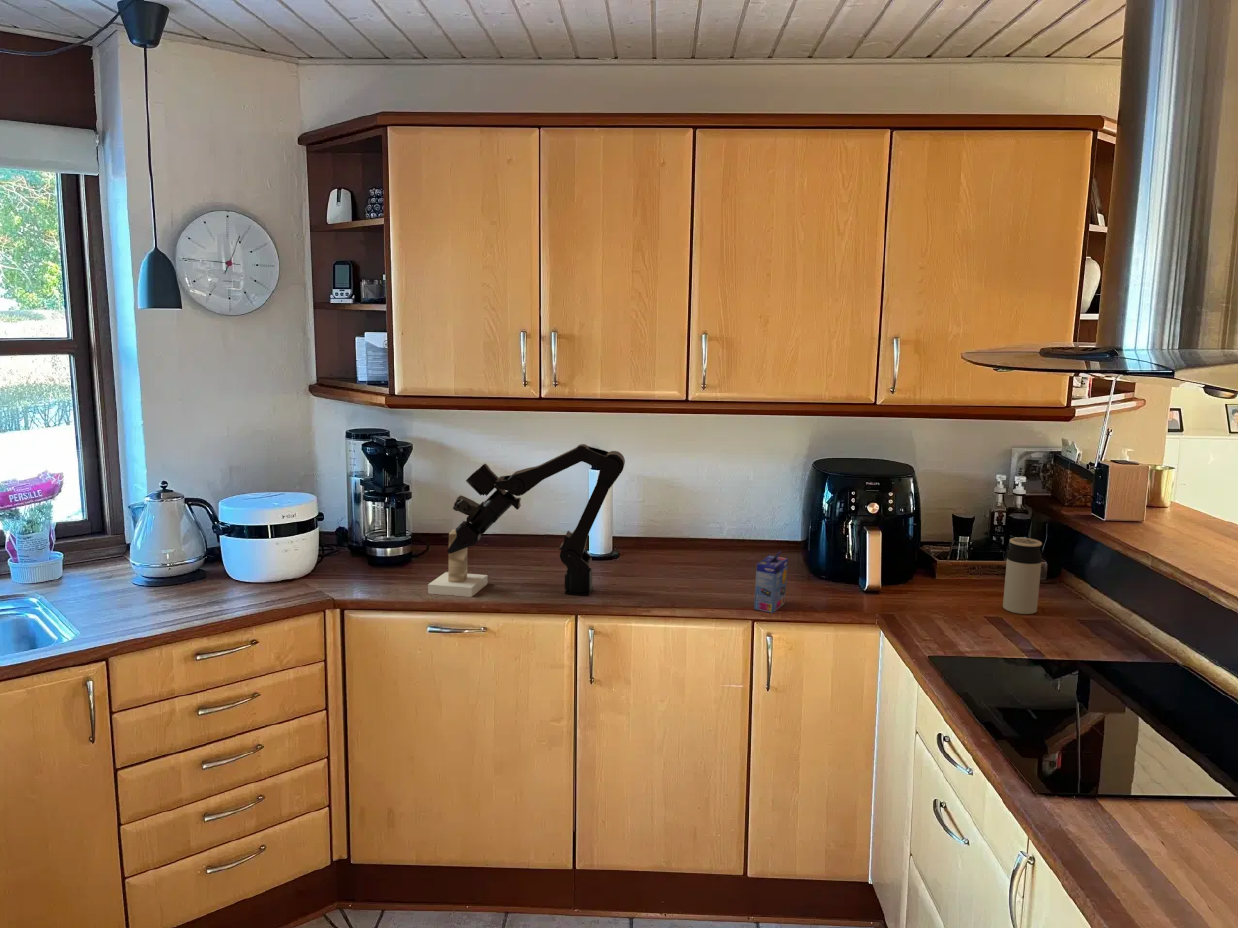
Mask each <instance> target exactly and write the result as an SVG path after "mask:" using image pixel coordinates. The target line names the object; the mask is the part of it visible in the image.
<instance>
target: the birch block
mask: <svg viewBox="0 0 1238 928" xmlns="http://www.w3.org/2000/svg"><path fill="white" fill-rule="evenodd" d="M456 537H457V535H456V528H455V529H454V528H453V529H451V531H450V532H449V533H448V548H449V547H450V546H451V544H452V543H453V541H454V540H455V538H456ZM468 549H469V547H467V548H464V549H462V550H459V551H456V552H454V553H451V554H449V553H448V570H447V572H448V582H464V581H465V579H466V578H467V574H468Z"/></svg>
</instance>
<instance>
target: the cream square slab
mask: <svg viewBox="0 0 1238 928" xmlns="http://www.w3.org/2000/svg"><path fill="white" fill-rule="evenodd" d="M488 578H489V577H488V574H477V573H467V578H466V579H465V581H464V582H448V571H445V572H444V573H443V574H441V575H439V576H438V577H437V578H435V579H434V580H432V581H431V582H430V583H428V584H427V592H428V594H430V595H440V596H441V595H442V596H453V595H454V596H456V597H469V598H472V597H474V596H475V595H476V594H477V593H478V592H479V591H480V590H482V589H483V588H484V587H486V586H487V585H488Z"/></svg>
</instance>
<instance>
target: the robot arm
mask: <svg viewBox="0 0 1238 928" xmlns="http://www.w3.org/2000/svg"><path fill="white" fill-rule="evenodd" d="M580 463H586V464H587V465H590V466H591V467H594V468H595V469H596V468H597V469H599V473H598V476H597V480H596V484H595V486H594V488H593V491H592V493H591V495H590V497H589V499H588V501H587V503H586V505H585V508H584V511H583V512H582V514H581V516H580V519H579V521H578V523H577V525H576V527H575V529H574V530H573V531H572V532H571V531H569V530H567V531H566V533H565V536H564V539H563V541H562V542H561V544H560V546H559V548H558V550H559V551H560V553H559V559H560V561H561V562H562V564H563V565H565V566H566V573H565V574H564V590H565V591H564V594H565V595H575V596H587V597H588V596H590V595H591V593H592V591H593V590H594V589H595V588H594V586H593V568H592V567H590V566H591V563H592V559H593V557H591V556H590V555H589V553H587V551H585V548H586V545H587V541H588V537H589V533H590V531H591V529H592V526H594V525H593V524H595V523H594V522H595V520H596V518H597V516H598V514H599V512H600V510H601V507H602V505H603V503H604V501H605V499H606V497H607V494H608V492H609V490H610V488H611V487H612V486H613V485H614V483H616V481H617V479H618V478H619V476H620V475H621V473H622V472H623V471H624V468H625V463H626V460H625V457H624V455H623V454H622V452H620V451H617V450H611V451H607V450H604V449H601V448H597V447H592V446H590V445H587V444H586V443H582V444H578V445H577V446H576V447H574V448H572V449H570V450H569V451H566V452H564V453H562V454H559V455H557V456H556V457H553V458H551V459H549V460H548V461H545V462H543V463H541V464H539V465H536V466H532V467H527V468H522V469H519V470H517V471H515V472H512V474H510V475H501V476H498V475H497V474H496V473H495V472H494V471H492V470H491V468H490V467H489V465H488V464H487V463H483V464H481V466H480V467H479V468H477V469H476V470H475V471H474V472H473V473H472V474H471V475H469V477H467V479H466V480H465V482H466V483H468V485H469V486H470V487H471V488H472V489H473V490H474V491H475V492H476V493H477V494H478V495H479V496H481V497H482V496H486V497H487V496H488V495H489V494H490V493H491V492H492V491H494V489H495V491H494V492H493V493H492V494H491V495H489V496H488V498H487V499H486V500H484V501H482V502H481V503H477V501H474V500H472V499H470V498H469V497H466V496H464V495H461V494H460V495H459V496H458V497H456V500H455V502H454V503H453V506H452V510H454V511H455V512H459V513H461V514H464V515H466V520H463V521H462V522H461V523H460V524H459V525H458V526H457V527H456V528H455V529H456V535H457V537H456V538H455V540H454V541H453V543H452V544H451V546H450V547H449V546H448V548H447V550H446V552H447V553H448V555H449V554H451V553H454V552H456V551H459V550H462V549H464V548H467V547H468V548H470V547H474V546H475V545H476V544H477V543H478V542H479V541H480V539H481V535H484V534H485V533H486V532H487V531H488V529H489V528H491V527H492V526H493V525H494V524H495V523H496V522H497V521H498V520H499V518H501V517H502V516H503V514H505V513H506V512H507V511H508V510H509V509H510V508H512V507H513V508H514V509H515V510H519V509H520V508H521V506H522V505H521V499H522V498H521V497H520V496H523V495H524V494H526V493H527V492H528V491H530V490H531V489H533V488H534V487H535V486H537V485H538V484H540V483H541V482H542V481H544V480H546V479H548V478H550V477H551V476H553V475H556V474H559V473H560V472H562V471H564V470H566V469H568V468H571V467H573V466H575V465H577V464H580Z"/></svg>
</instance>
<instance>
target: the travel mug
mask: <svg viewBox="0 0 1238 928" xmlns="http://www.w3.org/2000/svg"><path fill="white" fill-rule="evenodd" d="M1009 543H1010V547H1009V549H1008V550H1007V554H1006V565H1005V567H1006V568H1005V579H1004V586H1003V587H1004V589H1003V600H1002V608H1003V609H1004V610H1005V611H1008V612H1010V613H1013V614H1017V615H1032V614H1036V613H1037V612H1038V603H1039V592H1040V582H1041V571H1042V559H1043V555H1042V552H1041V546H1042V545H1043V542H1042V541H1040V540H1038V539H1035V538H1028V537H1011V538H1009Z"/></svg>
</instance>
